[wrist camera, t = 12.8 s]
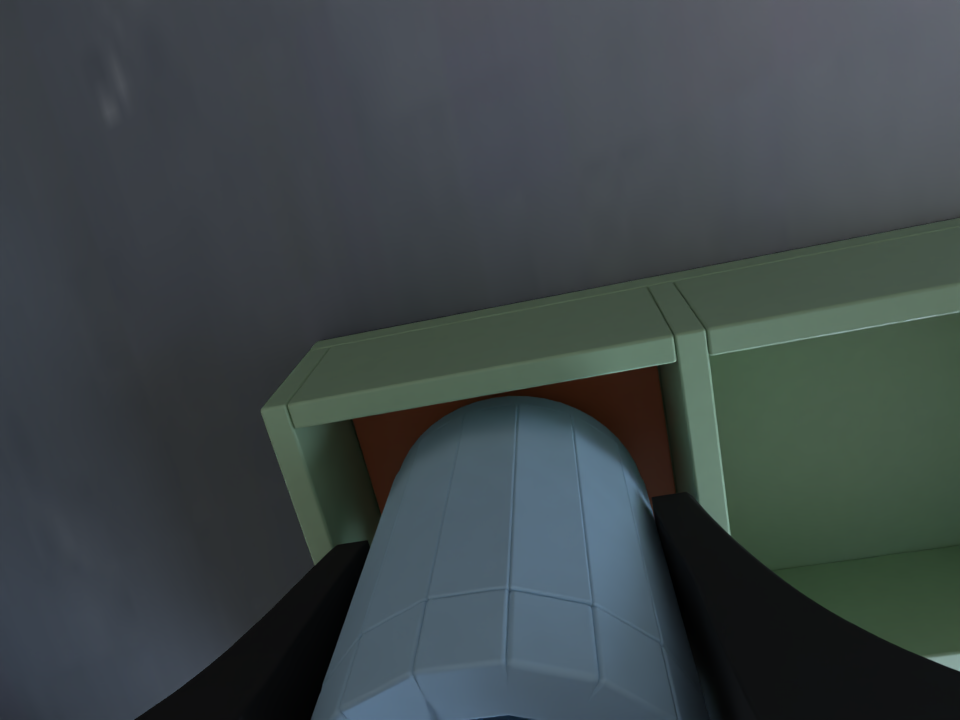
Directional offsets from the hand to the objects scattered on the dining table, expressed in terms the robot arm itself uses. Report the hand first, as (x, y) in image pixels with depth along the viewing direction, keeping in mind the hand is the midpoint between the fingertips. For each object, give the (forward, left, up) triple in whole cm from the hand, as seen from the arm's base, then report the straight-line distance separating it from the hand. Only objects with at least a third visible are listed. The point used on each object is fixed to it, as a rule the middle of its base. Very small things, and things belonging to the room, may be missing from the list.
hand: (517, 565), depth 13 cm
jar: (0, 0, -2) cm, 2 cm away
